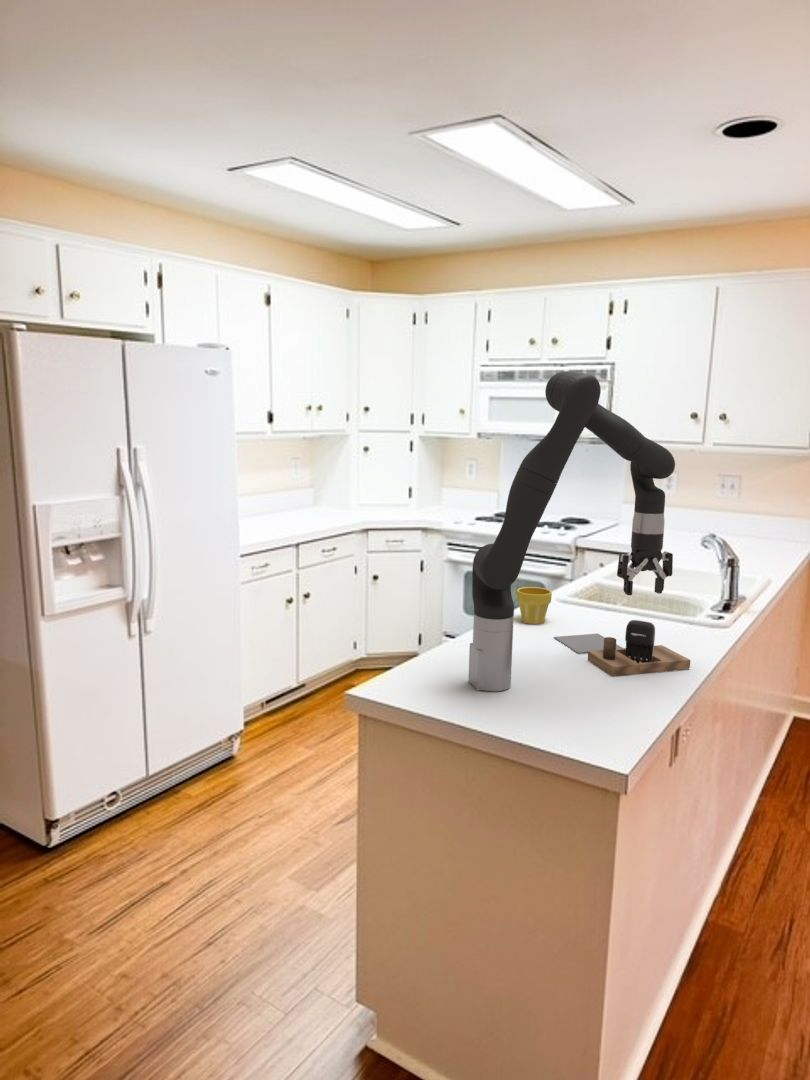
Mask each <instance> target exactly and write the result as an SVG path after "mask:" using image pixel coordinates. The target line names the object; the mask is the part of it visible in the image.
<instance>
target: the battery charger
mask: <svg viewBox="0 0 810 1080" xmlns="http://www.w3.org/2000/svg"><path fill="white" fill-rule="evenodd" d="M624 641H625V648H626V657H628V658H630V659H631V660H633V661H635V662H637V663H645V662H652V659H653V650H654V646H655V641H656V627H655V625H654V623H653V622H651V621H646V620H640V619H632V620H630V621H628V623H627V625H626V628H625V638H624Z"/></svg>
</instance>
